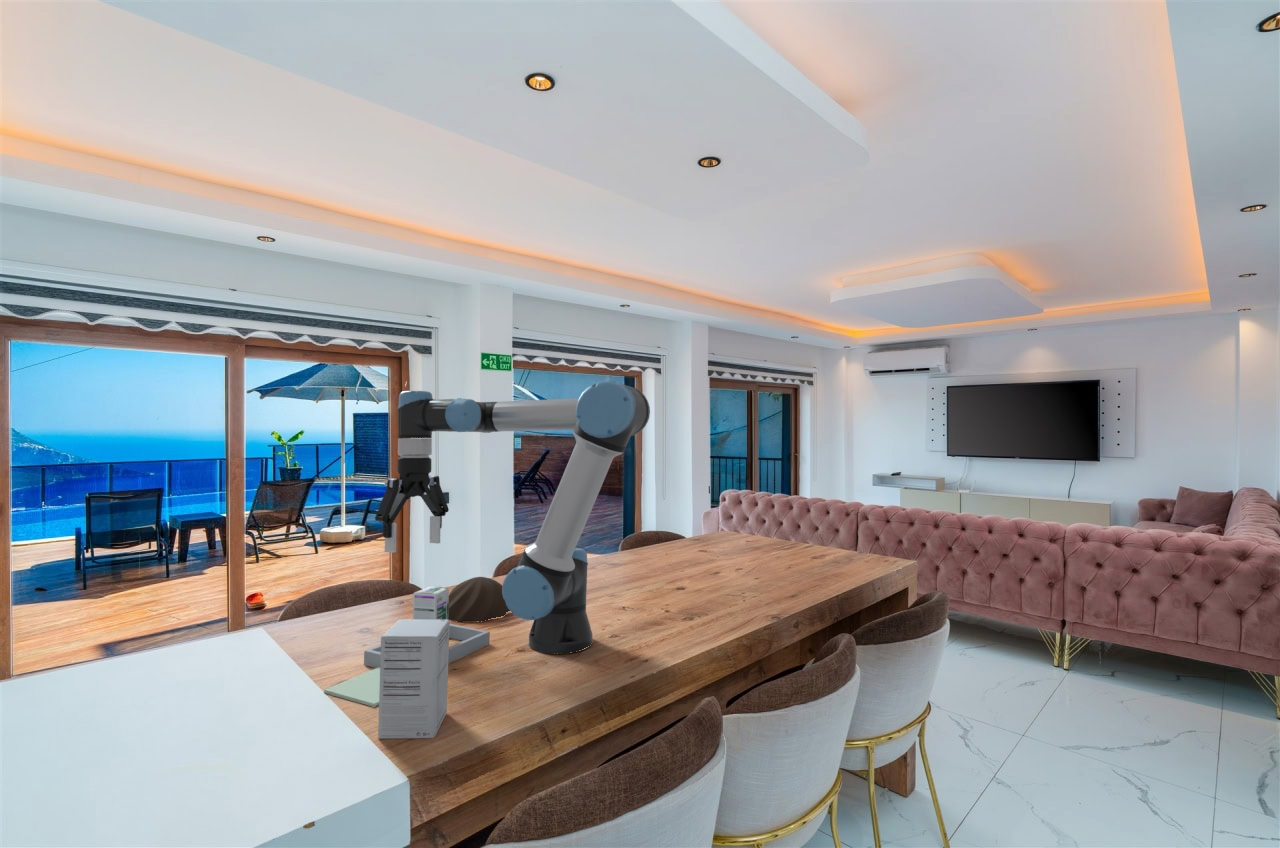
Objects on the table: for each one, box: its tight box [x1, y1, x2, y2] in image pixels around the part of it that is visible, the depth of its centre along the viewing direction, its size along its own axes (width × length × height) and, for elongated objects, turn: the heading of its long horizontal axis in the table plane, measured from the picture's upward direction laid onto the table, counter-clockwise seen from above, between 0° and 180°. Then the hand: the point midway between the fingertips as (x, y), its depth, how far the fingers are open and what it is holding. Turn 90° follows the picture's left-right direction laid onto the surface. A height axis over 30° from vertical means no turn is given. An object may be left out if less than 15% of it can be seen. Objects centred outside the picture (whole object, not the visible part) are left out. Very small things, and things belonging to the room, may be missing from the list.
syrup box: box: [412, 586, 450, 620], centre depth 139 cm, size 6×6×14 cm
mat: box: [323, 667, 380, 708], centre depth 120 cm, size 13×13×1 cm
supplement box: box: [377, 618, 451, 740], centre depth 105 cm, size 10×9×17 cm
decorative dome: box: [448, 576, 510, 623], centre depth 172 cm, size 19×20×10 cm
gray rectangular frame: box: [363, 623, 491, 669], centre depth 139 cm, size 15×23×3 cm, turn 155°
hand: (413, 547), depth 144 cm, fingers open, 13 cm apart
